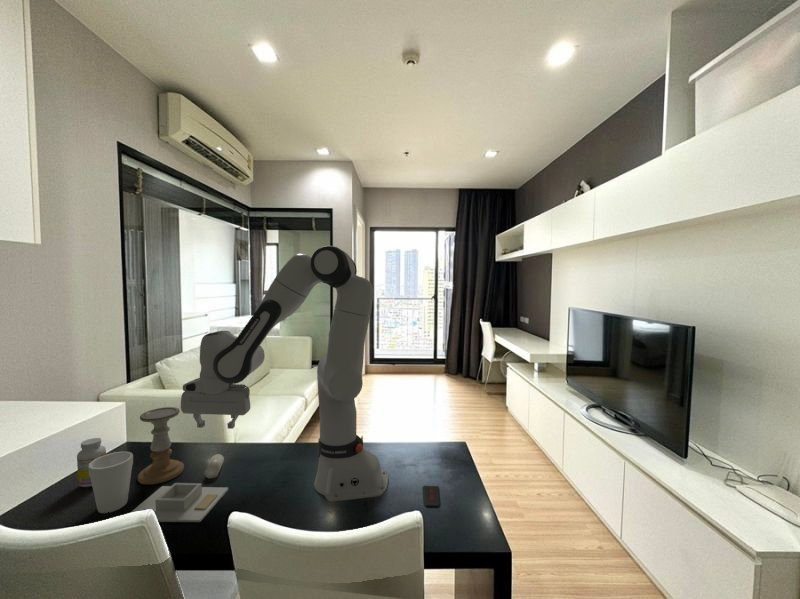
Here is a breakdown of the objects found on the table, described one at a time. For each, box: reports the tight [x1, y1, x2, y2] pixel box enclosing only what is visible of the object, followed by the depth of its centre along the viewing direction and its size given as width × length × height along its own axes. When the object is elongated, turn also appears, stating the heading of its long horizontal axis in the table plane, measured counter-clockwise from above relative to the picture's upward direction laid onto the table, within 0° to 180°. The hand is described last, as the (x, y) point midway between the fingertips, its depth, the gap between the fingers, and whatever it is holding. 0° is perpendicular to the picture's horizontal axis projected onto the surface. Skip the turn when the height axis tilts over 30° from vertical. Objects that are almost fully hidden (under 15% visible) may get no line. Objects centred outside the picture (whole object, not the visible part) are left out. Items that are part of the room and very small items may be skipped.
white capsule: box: [204, 453, 225, 479], centre depth 113 cm, size 4×4×9 cm
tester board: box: [131, 482, 229, 523], centre depth 95 cm, size 20×14×4 cm
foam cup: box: [89, 451, 134, 514], centre depth 95 cm, size 10×9×13 cm
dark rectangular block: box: [422, 485, 441, 508], centre depth 97 cm, size 5×12×3 cm, turn 178°
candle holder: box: [137, 406, 185, 485], centre depth 110 cm, size 12×12×20 cm
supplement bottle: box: [76, 437, 107, 488], centre depth 106 cm, size 7×7×13 cm
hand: (216, 427), depth 107 cm, fingers open, 8 cm apart
